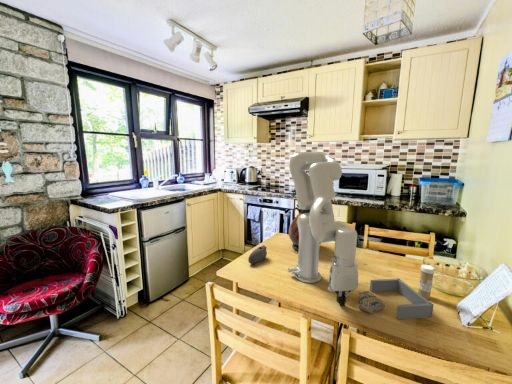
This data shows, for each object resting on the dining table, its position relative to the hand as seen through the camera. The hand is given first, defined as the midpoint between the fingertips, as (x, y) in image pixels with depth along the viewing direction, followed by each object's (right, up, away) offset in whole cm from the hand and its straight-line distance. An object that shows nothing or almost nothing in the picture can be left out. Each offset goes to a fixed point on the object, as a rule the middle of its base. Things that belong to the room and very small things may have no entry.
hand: (340, 303), depth 94 cm
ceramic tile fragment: (+12, -2, +1) cm, 12 cm away
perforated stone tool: (-33, +6, +38) cm, 50 cm away
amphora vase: (-3, +8, +55) cm, 56 cm away
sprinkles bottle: (+37, 0, +7) cm, 38 cm away
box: (+23, -1, +3) cm, 24 cm away
